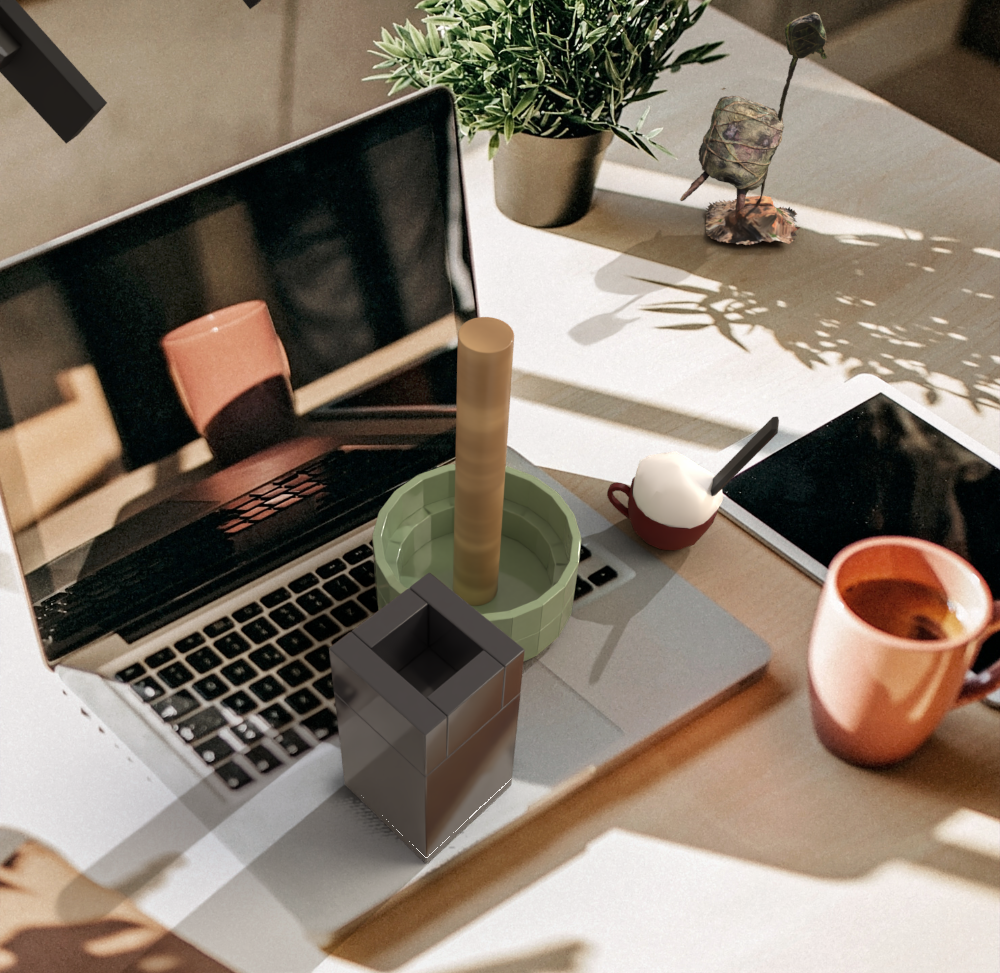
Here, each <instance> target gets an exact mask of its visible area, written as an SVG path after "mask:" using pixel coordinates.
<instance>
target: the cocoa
mask: <svg viewBox="0 0 1000 973" xmlns="http://www.w3.org/2000/svg"><path fill="white" fill-rule="evenodd" d="M779 426H780V418H779V416H772V417H771V418H770V419H769V420H768V421H767V422H766V423H765V424H764V425H763V426H762V427H761V428H760V429H759V430H758V431H757V433H755V435H753V436H752V437H751V439H749V441H747V443H746V444H745V445H744V446H743V447H741V449H740V450H739V451H738V452H737V453H736V454H735V455H734V456H733V457H732V458H731V459H730V460H729V461H728V462H727V463H726V464H725V465H724V466H723V467H722V468H721V469H720V470H718V472H717V473H716V474H714V473H713V472H711V471H709V470H708V469H706V468H704V467H702V466H701V465H699V464H698V463H697V462H695V461H693V460H691V459H690V458H689V457H687V456H685V455H684V454H682V453H680V452H678V451H677V450H674V451H666V452H661V453H655V454H649V455H648V456H646V457H644V458H642V459H640V460H639V462H638V465H637V468H636V472H635V476H634V477H633V478H632V480H631V483H630V486H629V485H628V484H625V483H623V482H612V483H611V484H609V487H608V489H607V492H606V496H607V499H608V501H609V503H610V504H611V505H612V506H613V507H614V509H615V510H617V511H618V512H619V513H620V514H622V515H623V516H624V517H625V518H627V519H629V522H630V524H631V526H632V529H633V531H634V532H635V534H636V535H637V536H638V537H640V538H641V540H643V541H644V542H645V543H646V544H647V545H650V546H652V547H654V548H657V549H659V550H663V551H679V550H683V549H686V548H689V547H691V546H694V545H695V544H697V542H698V541H699V540H700V539H701V538H702V537H703V535H705V533H706V532H707V531H708V530H709V529H710V527H712V525H713V523H714V521H715V519H716V517H717V515H718V511H719V508H720V506H721V504H722V502H723V501H724V494H723V488H725V487H726V485H728V483H729V482H730V481H731V480H732V479H734V478H735V477H736V476H737V475H738V474H739V472H741V471H742V469H744V468H745V467H746V465H747V464H749V462H750V461H751V460H753V459H754V457H756V456H757V454H758V453H759V452H761V451H762V449H763V448H765V446H766V445H767V444H768V443H769V442H770V441H772V439H773V438H775V437H776V436H777V434H778V433H779ZM617 491H618V492H622V493H624V494H625V495H626V496H627V497H628V499H627V506H625V505H624V504H623V503H622V502H621V501H620V500H619V499H618V498H617V497H616V496H615V494H614V492H617Z"/></svg>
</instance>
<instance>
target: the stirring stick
mask: <svg viewBox="0 0 1000 973" xmlns="http://www.w3.org/2000/svg"><path fill="white" fill-rule="evenodd" d="M514 344H515V333H514V330H513V328H512V327H511V325H509V324H508V323H507V322H505V321H503V320H501V319H500V318H495V317H491V316H479V317H475V318H471V319H469V320H466V321H465V322H464V323H463V324H462V325H461V326H460V327H459V328H458V332H457V357H456V358H457V360H456V361H457V363H456V372H457V373H456V411H455V413H456V414H455V458H454V460H455V461H454V464H455V509H454V560H453V591H454V593H456V594H457V595H458V596H459V597H461V598H462V599H463V600H464V601H466V602H467V603H468V604H469V605H472V606H479V605H484V604H486V603H488V602H490V601H491V600H492V599H493V598H494V597H495V596H496V594H497V590H498V575H499V559H500V544H501V529H502V514H503V499H504V484H505V469H506V466H507V455H508V454H507V453H508V436H509V422H510V421H509V420H510V408H511V407H510V405H511V391H512V376H513V364H514V363H513V361H514V347H515V345H514Z"/></svg>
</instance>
